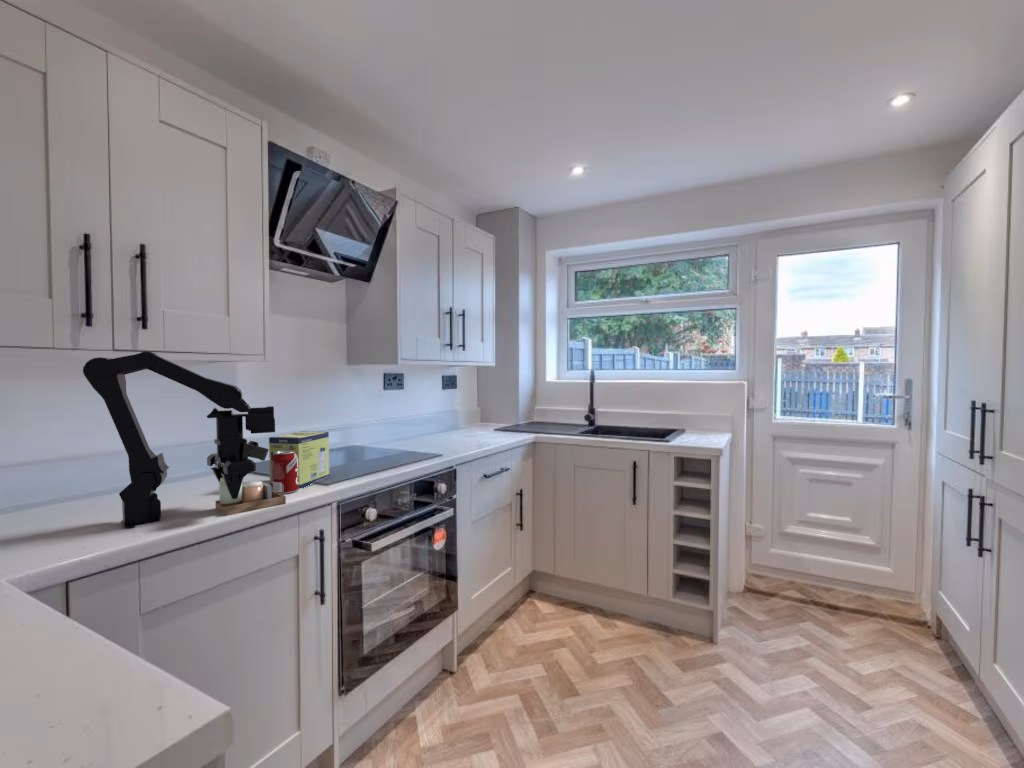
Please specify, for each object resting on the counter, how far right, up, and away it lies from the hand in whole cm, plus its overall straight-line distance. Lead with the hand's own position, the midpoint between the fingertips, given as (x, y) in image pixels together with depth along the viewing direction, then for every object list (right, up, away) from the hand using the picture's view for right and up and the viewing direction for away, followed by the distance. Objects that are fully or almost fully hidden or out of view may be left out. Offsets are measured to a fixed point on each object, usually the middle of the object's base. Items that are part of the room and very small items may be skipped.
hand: (231, 496), depth 121 cm
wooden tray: (+3, -4, +3) cm, 6 cm away
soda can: (+5, -3, +18) cm, 19 cm away
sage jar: (0, -1, 0) cm, 1 cm away
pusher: (+6, -4, +6) cm, 9 cm away
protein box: (+4, -3, +30) cm, 31 cm away
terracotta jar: (+3, -3, +4) cm, 6 cm away
